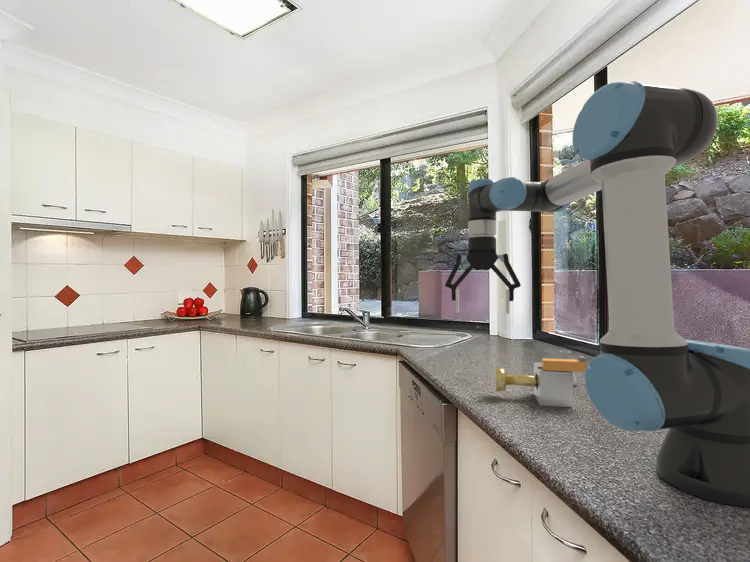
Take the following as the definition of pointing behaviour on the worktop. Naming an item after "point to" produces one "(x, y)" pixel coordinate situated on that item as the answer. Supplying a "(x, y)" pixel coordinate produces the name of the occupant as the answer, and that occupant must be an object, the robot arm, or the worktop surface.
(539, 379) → the block
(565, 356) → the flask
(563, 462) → the worktop surface
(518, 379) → the pin
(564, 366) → the bar
